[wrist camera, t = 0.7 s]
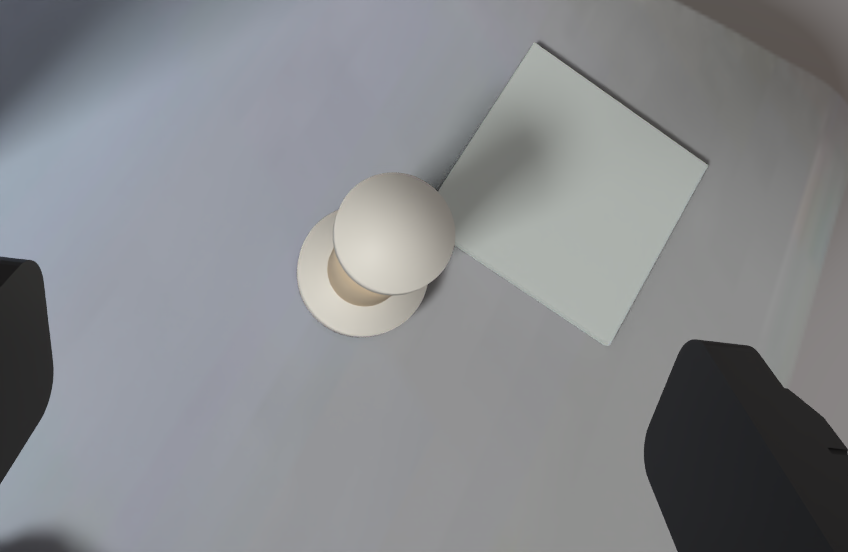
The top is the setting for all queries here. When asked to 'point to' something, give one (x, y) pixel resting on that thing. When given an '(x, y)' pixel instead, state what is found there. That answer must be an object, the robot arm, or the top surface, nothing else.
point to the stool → (375, 255)
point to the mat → (569, 194)
